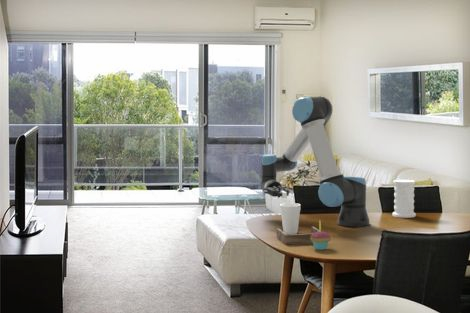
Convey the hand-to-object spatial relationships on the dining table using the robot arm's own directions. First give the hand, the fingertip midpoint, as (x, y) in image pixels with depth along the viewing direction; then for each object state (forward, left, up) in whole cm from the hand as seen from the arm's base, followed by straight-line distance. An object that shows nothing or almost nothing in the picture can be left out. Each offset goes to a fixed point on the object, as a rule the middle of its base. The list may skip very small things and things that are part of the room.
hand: (285, 195), depth 345 cm
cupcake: (-22, +37, -16) cm, 46 cm away
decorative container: (-53, -48, -16) cm, 73 cm away
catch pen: (-10, +22, -16) cm, 29 cm away
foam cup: (-4, +7, -16) cm, 18 cm away
